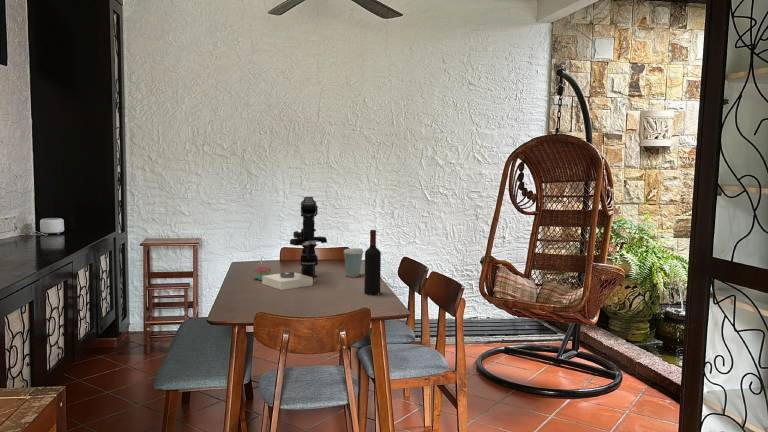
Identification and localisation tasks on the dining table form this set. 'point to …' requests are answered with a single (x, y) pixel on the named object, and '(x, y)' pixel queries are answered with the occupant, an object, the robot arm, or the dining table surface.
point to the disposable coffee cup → (353, 261)
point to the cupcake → (262, 271)
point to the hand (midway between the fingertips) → (308, 257)
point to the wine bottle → (372, 267)
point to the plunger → (287, 274)
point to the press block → (287, 281)
